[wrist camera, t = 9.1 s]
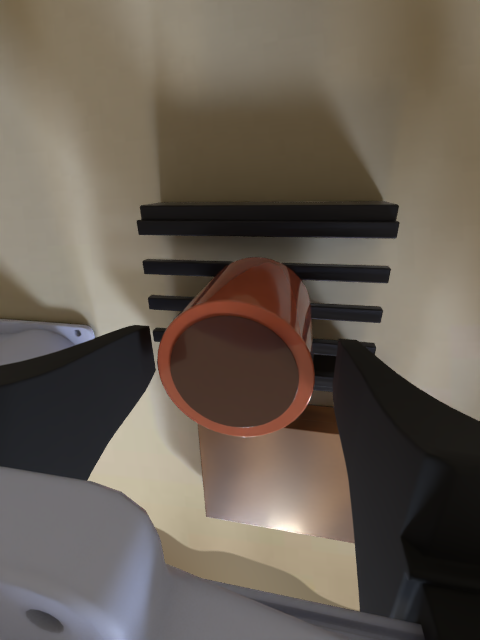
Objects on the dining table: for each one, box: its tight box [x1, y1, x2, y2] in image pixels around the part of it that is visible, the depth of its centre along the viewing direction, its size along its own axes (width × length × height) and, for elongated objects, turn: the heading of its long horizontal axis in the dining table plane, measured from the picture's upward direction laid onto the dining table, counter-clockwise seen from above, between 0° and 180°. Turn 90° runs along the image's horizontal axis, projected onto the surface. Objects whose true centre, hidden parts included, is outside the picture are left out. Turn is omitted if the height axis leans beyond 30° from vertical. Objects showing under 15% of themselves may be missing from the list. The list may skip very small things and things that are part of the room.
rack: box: [137, 201, 399, 392], centre depth 17 cm, size 12×10×3 cm
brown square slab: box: [198, 405, 355, 543], centre depth 22 cm, size 12×10×2 cm
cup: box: [157, 257, 315, 437], centre depth 13 cm, size 5×5×6 cm
